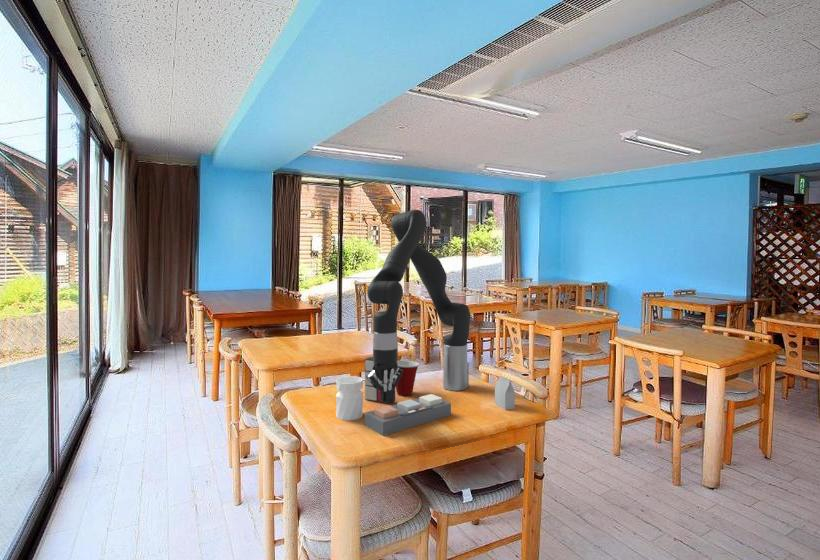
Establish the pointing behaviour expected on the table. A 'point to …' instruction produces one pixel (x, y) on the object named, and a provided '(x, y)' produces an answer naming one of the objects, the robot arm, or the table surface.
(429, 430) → the table surface
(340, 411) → the vase
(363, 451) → the table surface
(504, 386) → the pale grey block
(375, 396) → the red and grey box
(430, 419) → the keypad housing
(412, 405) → the grey key
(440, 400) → the cream key
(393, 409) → the terracotta key
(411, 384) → the plastic cup
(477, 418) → the table surface
